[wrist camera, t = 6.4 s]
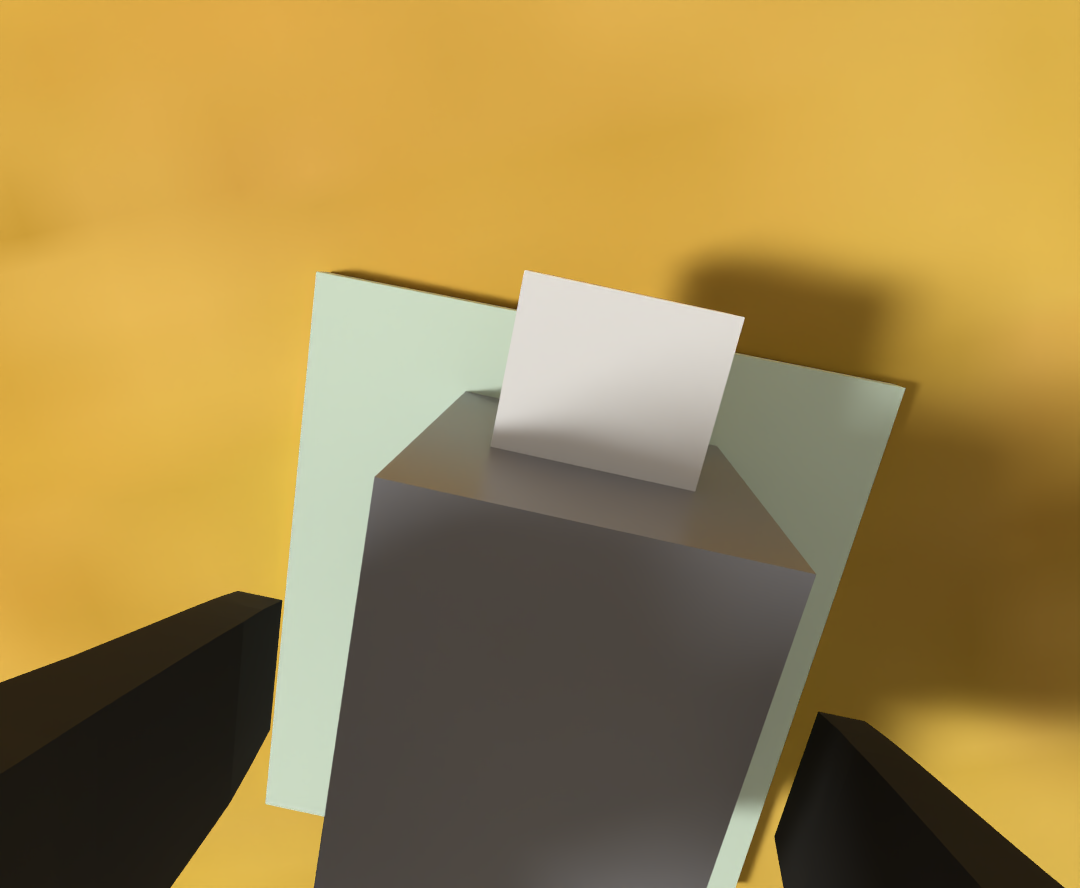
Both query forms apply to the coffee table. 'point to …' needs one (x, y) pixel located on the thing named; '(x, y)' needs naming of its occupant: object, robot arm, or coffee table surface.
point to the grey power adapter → (563, 618)
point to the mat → (478, 367)
